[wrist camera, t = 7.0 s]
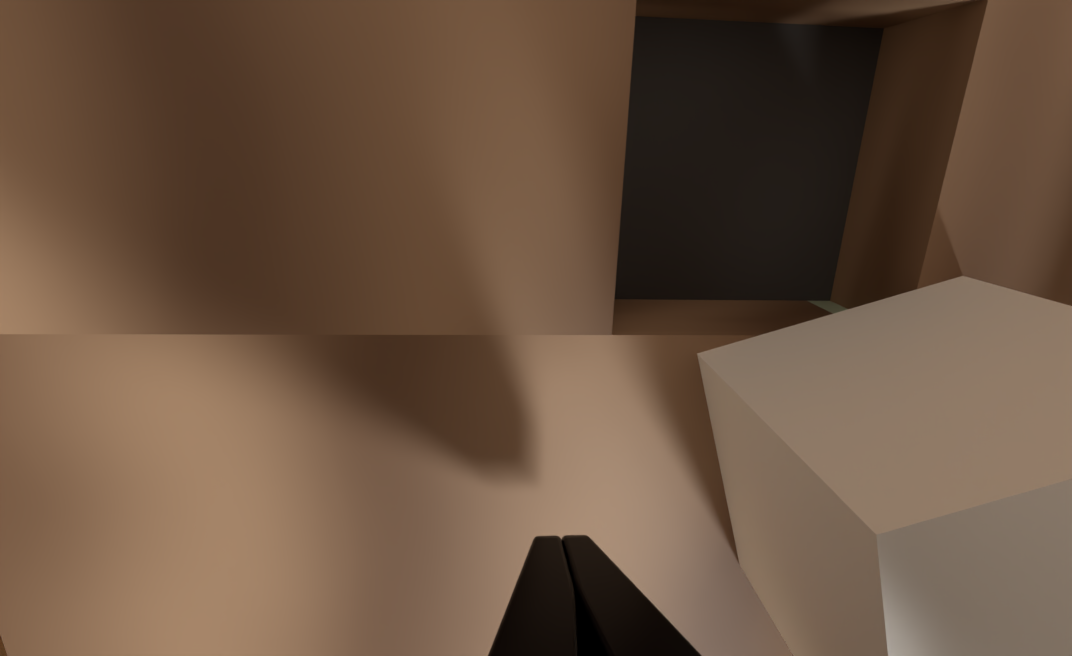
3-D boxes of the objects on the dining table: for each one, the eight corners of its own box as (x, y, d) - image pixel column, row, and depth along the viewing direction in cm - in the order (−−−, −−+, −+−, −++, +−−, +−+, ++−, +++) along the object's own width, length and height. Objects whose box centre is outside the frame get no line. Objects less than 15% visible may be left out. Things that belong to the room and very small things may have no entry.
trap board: (1103, 10, 10) (1623, -102, 6) (886, 724, 16) (1054, 971, 11) (-63, -52, 9) (-729, -288, 4) (151, 768, 14) (-18, 1080, 10)
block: (962, 275, 9) (1376, 391, 5) (969, 499, 11) (1292, 738, 6) (696, 353, 9) (876, 534, 5) (739, 565, 11) (906, 846, 6)
